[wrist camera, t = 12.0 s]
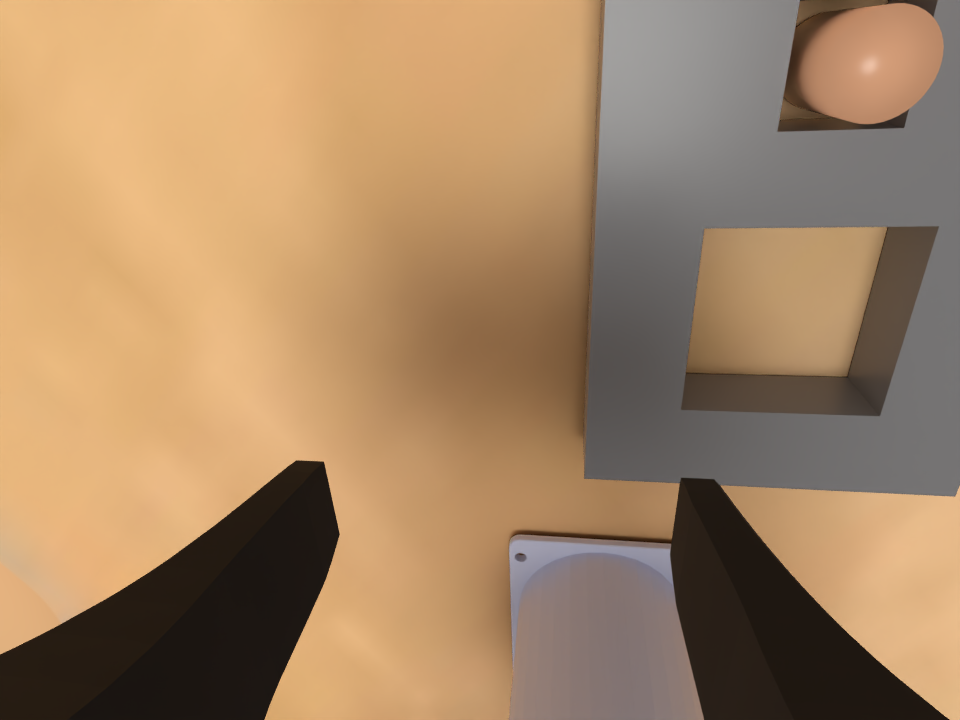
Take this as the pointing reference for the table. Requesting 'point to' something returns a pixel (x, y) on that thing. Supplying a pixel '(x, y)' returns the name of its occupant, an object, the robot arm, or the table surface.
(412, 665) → the table surface
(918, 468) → the grey board with holes
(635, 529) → the table surface
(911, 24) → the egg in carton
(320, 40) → the table surface
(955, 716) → the table surface
